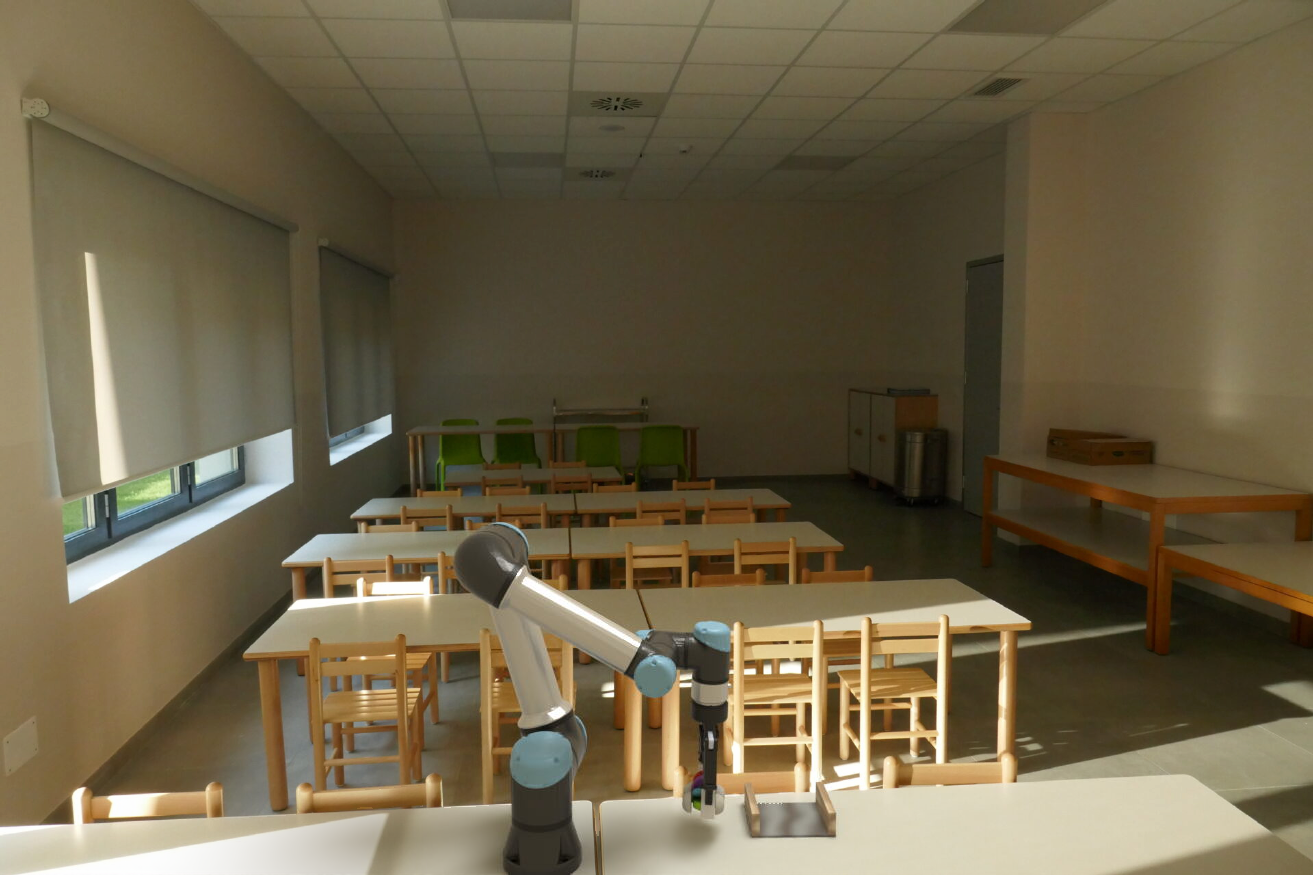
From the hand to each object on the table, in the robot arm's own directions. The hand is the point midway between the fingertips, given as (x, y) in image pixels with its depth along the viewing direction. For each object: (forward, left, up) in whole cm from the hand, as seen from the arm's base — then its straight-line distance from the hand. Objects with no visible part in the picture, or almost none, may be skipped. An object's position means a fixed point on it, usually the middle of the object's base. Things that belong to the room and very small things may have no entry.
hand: (705, 805), depth 191 cm
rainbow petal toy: (0, 0, -1) cm, 1 cm away
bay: (+18, +5, -6) cm, 19 cm away
